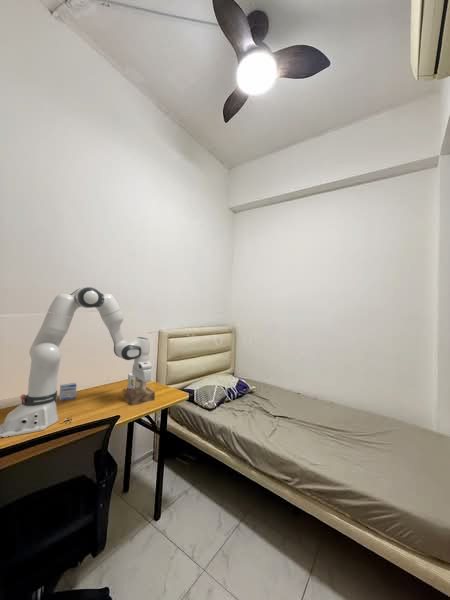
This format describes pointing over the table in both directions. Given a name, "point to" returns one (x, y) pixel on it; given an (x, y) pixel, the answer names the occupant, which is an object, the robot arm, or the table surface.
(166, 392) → the table surface
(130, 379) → the ink box
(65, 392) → the medicine box
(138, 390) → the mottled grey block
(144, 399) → the walnut block
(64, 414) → the table surface
